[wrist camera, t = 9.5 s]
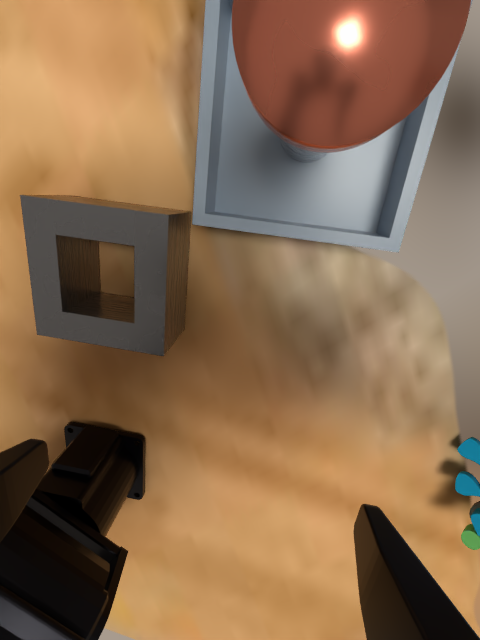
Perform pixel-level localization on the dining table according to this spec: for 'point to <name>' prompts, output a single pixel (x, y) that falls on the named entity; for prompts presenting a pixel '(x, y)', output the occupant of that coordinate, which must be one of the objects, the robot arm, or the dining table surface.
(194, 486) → the dining table surface
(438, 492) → the dining table surface
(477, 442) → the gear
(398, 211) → the tray
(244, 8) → the pin
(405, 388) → the dining table surface
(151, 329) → the hitch block
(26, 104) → the dining table surface
